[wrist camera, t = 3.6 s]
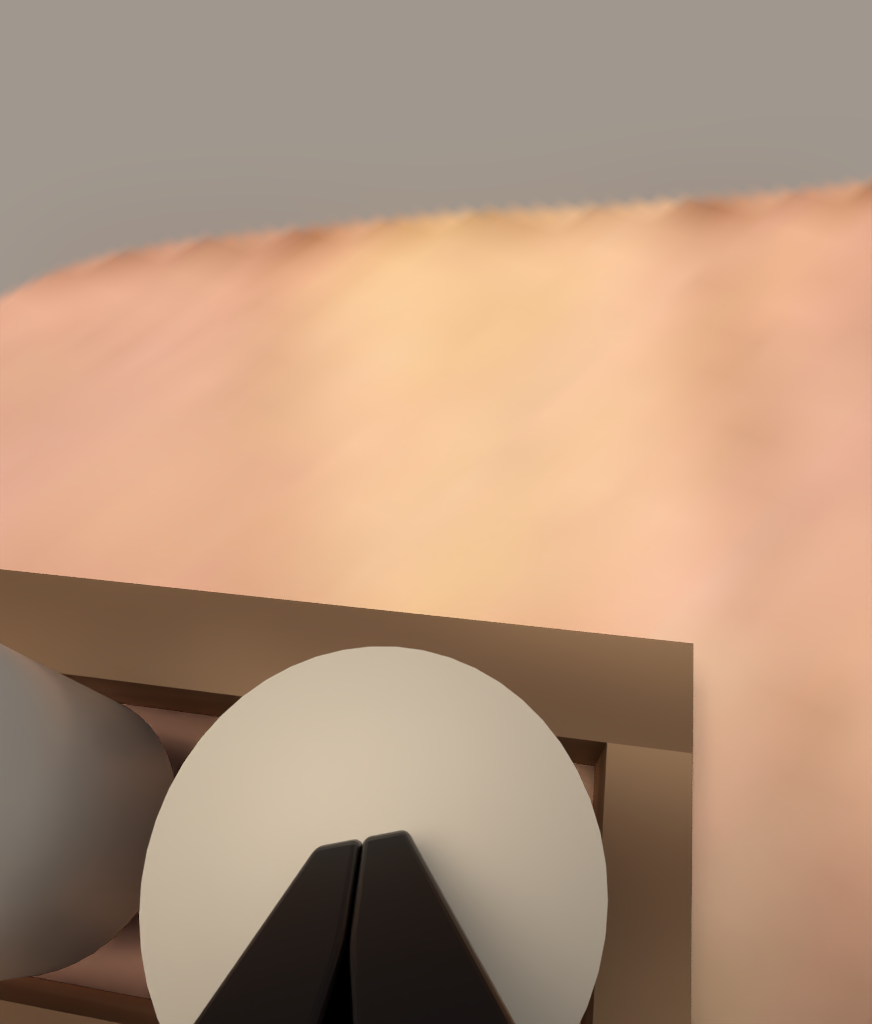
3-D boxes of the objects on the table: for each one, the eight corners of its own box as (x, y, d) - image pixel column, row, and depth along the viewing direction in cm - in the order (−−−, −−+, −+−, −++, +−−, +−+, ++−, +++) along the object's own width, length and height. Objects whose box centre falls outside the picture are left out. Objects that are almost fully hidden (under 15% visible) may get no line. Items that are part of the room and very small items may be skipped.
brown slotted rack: (659, 1241, 13) (688, 1314, 10) (-441, 1004, 16) (-599, 1021, 14) (670, 678, 16) (693, 643, 14) (-218, 577, 20) (-313, 535, 17)
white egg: (615, 826, 13) (681, 769, 8) (495, 1117, 12) (471, 1300, 6) (382, 702, 14) (298, 580, 9) (246, 950, 13) (44, 983, 7)
